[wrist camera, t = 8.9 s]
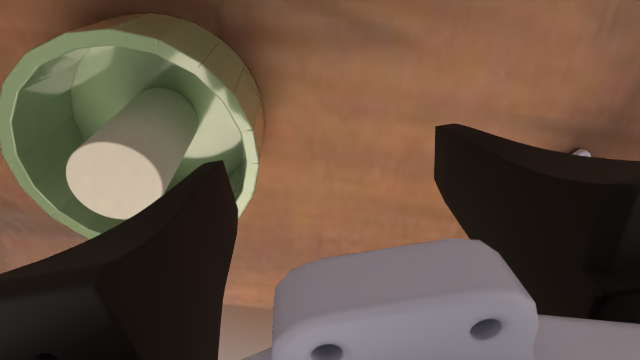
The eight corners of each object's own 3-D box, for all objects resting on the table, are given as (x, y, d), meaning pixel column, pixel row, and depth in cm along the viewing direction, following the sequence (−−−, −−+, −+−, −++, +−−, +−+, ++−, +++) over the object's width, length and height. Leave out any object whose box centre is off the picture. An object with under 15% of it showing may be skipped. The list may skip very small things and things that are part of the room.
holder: (302, 121, 22) (306, 165, 17) (183, 222, 25) (159, 283, 20) (148, -39, 17) (96, -40, 13) (25, 109, 20) (-54, 153, 16)
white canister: (211, 121, 21) (181, 184, 15) (170, 159, 22) (126, 234, 16) (158, 73, 19) (100, 122, 13) (116, 116, 20) (46, 181, 14)
